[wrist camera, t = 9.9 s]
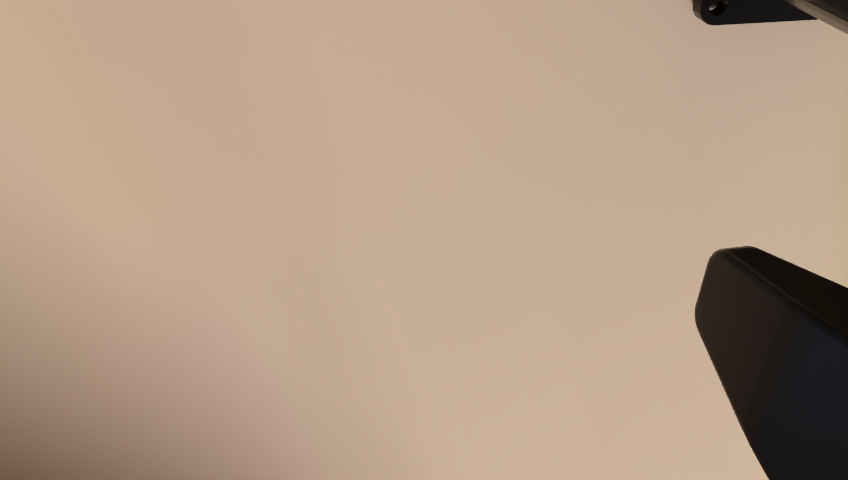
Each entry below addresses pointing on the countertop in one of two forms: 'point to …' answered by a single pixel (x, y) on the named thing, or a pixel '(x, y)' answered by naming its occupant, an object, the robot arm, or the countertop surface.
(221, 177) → the countertop surface
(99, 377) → the countertop surface
